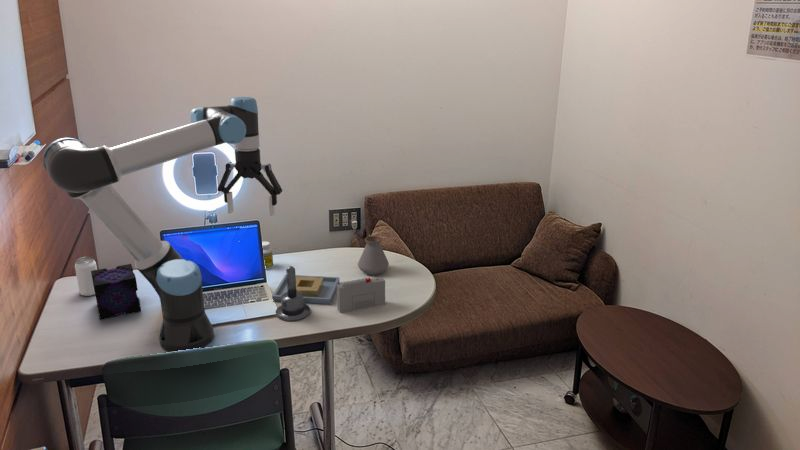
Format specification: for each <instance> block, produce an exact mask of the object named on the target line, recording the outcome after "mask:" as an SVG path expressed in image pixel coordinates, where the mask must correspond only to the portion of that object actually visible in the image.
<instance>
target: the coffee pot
mask: <svg viewBox="0 0 800 450" xmlns="http://www.w3.org/2000/svg"><path fill="white" fill-rule="evenodd" d="M362 223H363V225H365V230H366V232H367V235H368V236H366V237H365V238H364V242H365V247H364V249H363V251H362V253H361V255H360V258H359V259H358V263H357V267H358V268H359V270H360V271H361V272H363V273H364V274H365V275H369V276H379V275H382V274H383V273H384V272H386V270H387V269H388V267H389V265H390V264H389V261H388V258H387V256H386V254H385V252H384V249H383V247H382V245H381V243H382V241H383V237H380V236H378V235H371V229H370V226H369V223H370V221H369V220H368V219H365V220H363V222H362Z"/></svg>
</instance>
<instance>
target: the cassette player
mask: <svg viewBox="0 0 800 450" xmlns="http://www.w3.org/2000/svg"><path fill="white" fill-rule="evenodd" d="M340 282H341V281H340ZM336 300H337V301H336V302H337V310H338V312H339V313H340V314H341V313H346V312H352V311H358V310H363V309H369V308H373V307H378V306H384V305H386V280H385V279H384V277H383V276H381V277H375V278H371V277H364V278H358V279H353V280H346V281H342V282H341V283H339V284H338V285H337V290H336Z"/></svg>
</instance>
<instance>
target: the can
mask: <svg viewBox="0 0 800 450" xmlns="http://www.w3.org/2000/svg"><path fill="white" fill-rule="evenodd" d="M74 263H75V264H74V270H75V275H76V281H77V286H78V290H79V293H80V295H81V296H83V297H90V296H94V295H95V291H94V286H93V280H92V274H91V271H93V270H98V267H97V262H96V261H95V258H94V257H92V256H83V257H80V258H77V259H76V260H75V262H74Z"/></svg>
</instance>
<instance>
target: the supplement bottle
mask: <svg viewBox="0 0 800 450" xmlns="http://www.w3.org/2000/svg"><path fill="white" fill-rule="evenodd" d="M261 242H262V248H263V255H264V260H265V266H266V269H265V270H270V269H272V268H273V267H274V257H273V256H274V255H273V248H272V247H271V244H270V242H269V241H261Z"/></svg>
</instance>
